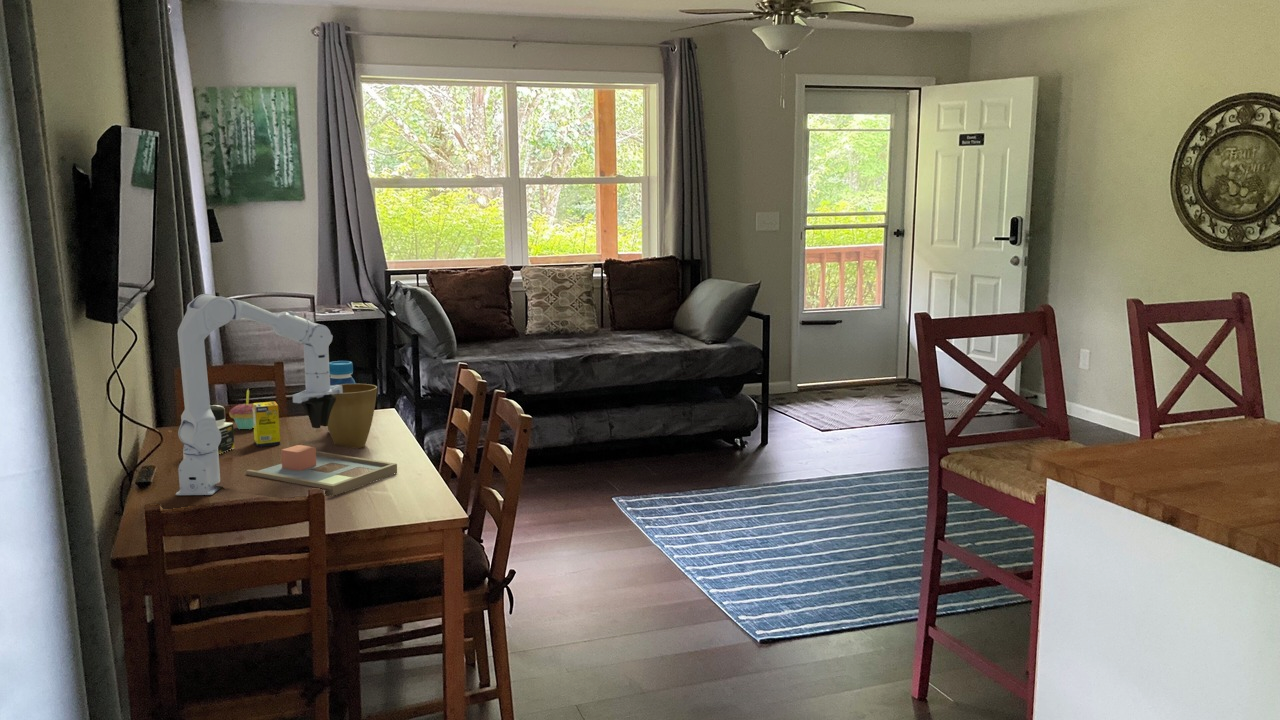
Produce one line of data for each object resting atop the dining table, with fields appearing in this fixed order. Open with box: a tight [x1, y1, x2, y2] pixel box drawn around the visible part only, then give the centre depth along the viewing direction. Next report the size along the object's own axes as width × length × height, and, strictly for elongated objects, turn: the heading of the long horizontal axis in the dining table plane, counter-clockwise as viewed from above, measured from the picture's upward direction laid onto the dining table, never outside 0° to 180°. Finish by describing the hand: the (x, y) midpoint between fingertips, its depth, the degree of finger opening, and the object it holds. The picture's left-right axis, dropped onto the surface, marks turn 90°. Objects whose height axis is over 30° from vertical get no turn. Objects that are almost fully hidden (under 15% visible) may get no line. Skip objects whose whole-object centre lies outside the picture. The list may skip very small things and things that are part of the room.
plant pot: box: [326, 383, 378, 450], centre depth 255 cm, size 15×15×16 cm
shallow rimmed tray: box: [245, 450, 398, 497], centre depth 227 cm, size 27×21×2 cm
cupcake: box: [228, 387, 254, 430], centre depth 276 cm, size 9×8×12 cm
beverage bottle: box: [327, 360, 357, 434], centre depth 271 cm, size 8×8×20 cm
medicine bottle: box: [210, 404, 236, 456], centre depth 249 cm, size 7×7×12 cm
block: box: [280, 444, 317, 471], centre depth 230 cm, size 6×6×4 cm
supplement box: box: [251, 401, 281, 447], centre depth 258 cm, size 6×6×11 cm
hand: (319, 426), depth 236 cm, fingers closed
